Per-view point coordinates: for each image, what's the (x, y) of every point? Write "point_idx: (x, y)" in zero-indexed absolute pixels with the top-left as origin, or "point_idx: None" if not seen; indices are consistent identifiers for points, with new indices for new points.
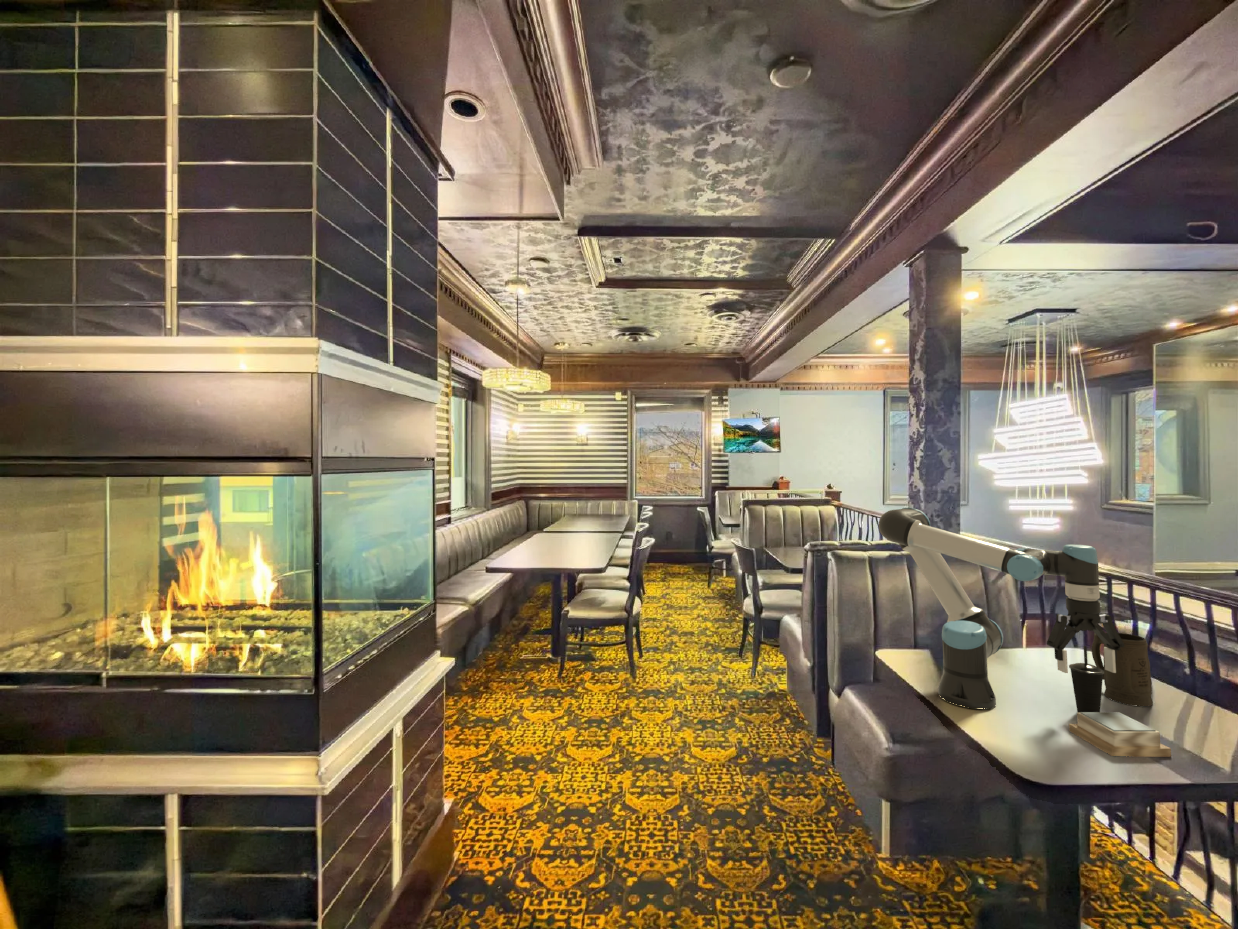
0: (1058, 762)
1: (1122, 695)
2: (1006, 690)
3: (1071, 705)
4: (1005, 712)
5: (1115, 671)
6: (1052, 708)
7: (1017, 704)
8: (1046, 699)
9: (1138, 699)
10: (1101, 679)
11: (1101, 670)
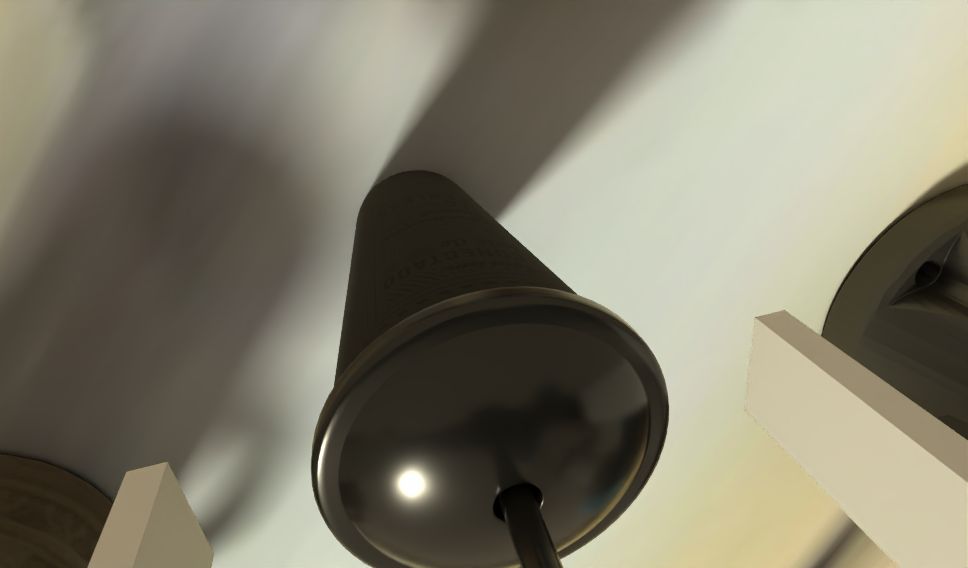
0: None
1: (40, 519)
2: (654, 477)
3: None
4: (875, 177)
5: (125, 487)
6: None
7: (729, 306)
8: None
9: None
10: (389, 305)
11: (363, 413)
